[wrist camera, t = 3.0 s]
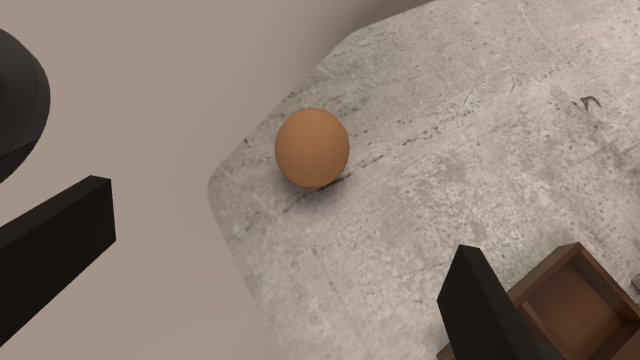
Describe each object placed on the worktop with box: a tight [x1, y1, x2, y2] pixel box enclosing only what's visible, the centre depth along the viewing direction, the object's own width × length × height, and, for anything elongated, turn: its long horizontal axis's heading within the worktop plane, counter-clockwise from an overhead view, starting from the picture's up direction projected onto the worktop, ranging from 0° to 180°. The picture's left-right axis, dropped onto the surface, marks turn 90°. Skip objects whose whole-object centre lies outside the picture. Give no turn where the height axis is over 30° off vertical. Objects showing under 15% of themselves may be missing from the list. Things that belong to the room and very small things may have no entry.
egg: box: [275, 108, 350, 188], centre depth 30 cm, size 6×6×8 cm
